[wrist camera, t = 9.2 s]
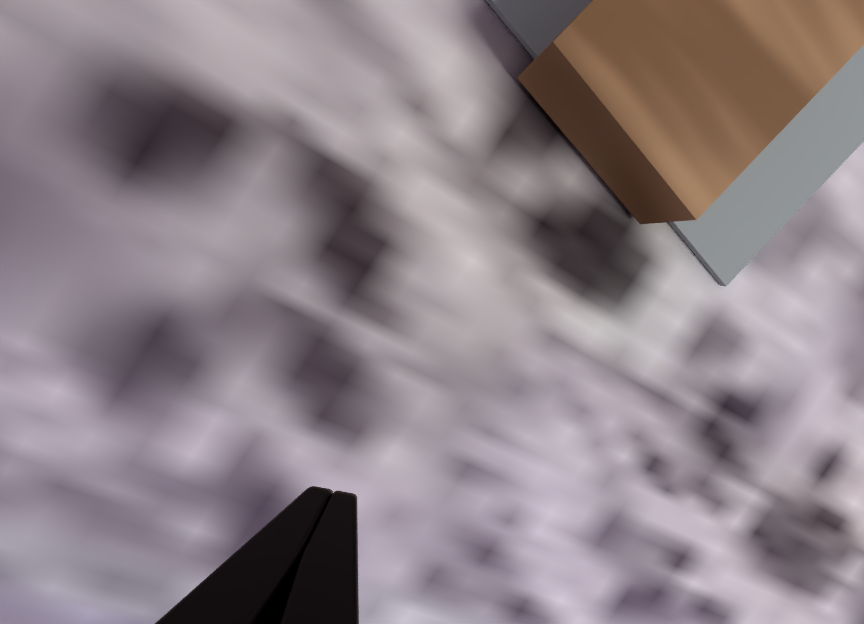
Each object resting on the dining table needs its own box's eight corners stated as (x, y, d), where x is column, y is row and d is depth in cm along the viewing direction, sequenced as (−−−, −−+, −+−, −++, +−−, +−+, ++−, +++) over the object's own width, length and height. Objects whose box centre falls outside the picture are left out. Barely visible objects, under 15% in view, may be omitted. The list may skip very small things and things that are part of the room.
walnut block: (696, 219, 15) (910, -5, 15) (553, 41, 14) (792, -205, 14) (640, 224, 18) (820, 35, 18) (516, 77, 17) (714, -127, 17)
